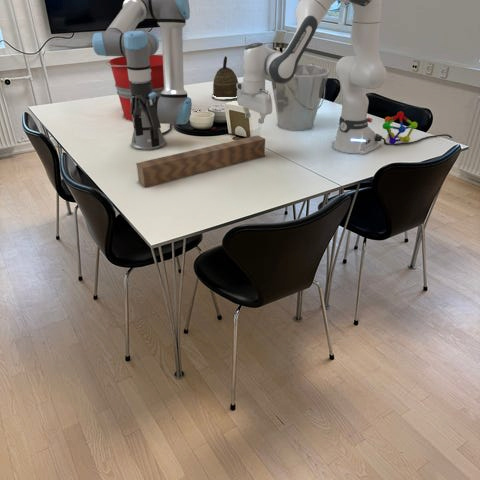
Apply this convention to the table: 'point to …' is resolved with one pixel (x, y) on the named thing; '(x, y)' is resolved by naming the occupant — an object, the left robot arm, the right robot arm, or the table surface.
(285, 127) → the bucket
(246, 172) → the table surface
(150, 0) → the left robot arm
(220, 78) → the bell
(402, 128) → the educational toy
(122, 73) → the bucket
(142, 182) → the beam
